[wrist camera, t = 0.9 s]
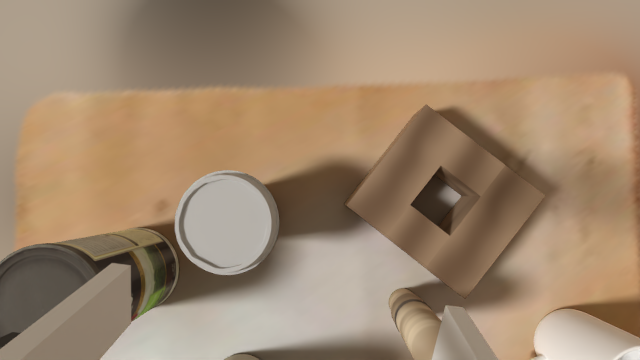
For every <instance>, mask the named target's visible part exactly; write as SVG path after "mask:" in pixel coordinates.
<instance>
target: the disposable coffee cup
mask: <svg viewBox="0 0 640 360" xmlns="http://www.w3.org/2000/svg"><path fill="white" fill-rule="evenodd" d="M278 231H279V213H278V208H277V205H276V203H275V200H274V198H273V196H272V195H271V193H270V192H269V190H268V189H267V188H266V187H265V186H264V185H263V184H262V183H261V182H260V181H259V180H257V179H256V178H254V177H252V176H250V175H248V174H245V173H242V172H239V171H231V170H225V171H217V172H213V173H210V174H208V175H205V176H203V177H202V178H200V179H199V180H197V181H196V182H194V183H193V184H192V185H191V186H190V188H189V189H188V190H187V191H186V192H185V194H184V195H183V197H182V199H181V200H180V202H179V206H178V208H177V212H176V215H175V233H176V238H177V242H178V244H179V246H180V248H181V250H182V251H183V252H184V254H185V255H186V256H187V257H188V258H189V260H190V261H191V262H193V263H194V264H196V265H197V266H199V267H200V268H202V269H204V270H206V271H208V272H211V273H214V274H219V275H234V274H239V273H242V272H246V271H248V270H250V269H252V268H254V267H256V266H257V265H258V264H259V263H260V262H262V261H263V260H264V259H265V258H266V257H267V255H268V254H269V253H270V251H271V250H272V248H273V246H274V244H275V242H276V239H277V236H278Z"/></svg>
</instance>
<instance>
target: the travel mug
mask: <svg viewBox="0 0 640 360" xmlns="http://www.w3.org/2000/svg"><path fill="white" fill-rule="evenodd" d="M224 360H260V359H258V358H256V357H254V356H251V355H247V354H237V355H233V356H230V357H228V358H226V359H224Z"/></svg>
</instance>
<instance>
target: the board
mask: <svg viewBox="0 0 640 360" xmlns="http://www.w3.org/2000/svg"><path fill="white" fill-rule="evenodd" d="M433 175H435V176H437V177H438V178H439V179H441V180H442V181H443V182H445V183H446V184H447V185H448V186H450V187H451V188H452V189H454V190H455V191H456V192H457V193H459V194H460V195H461V198H460V199H459V200H458V201H457V203H456V204H455V205H454V207H453V208H452V209H451V210H450V212H449V213H448V214H447V216H446V217H445V218H444V219H443V221H442V222H441V223H440V225H439V226H437V225H435V224H434V223H433V222H432V221H430V220H429V219H428V218H426V217H425V216H424V215H423V214H421V213H420V212H419V211H417V210H416V209H415V208H414V207H412V206H411V205H410V204H411V203H412V202H413V200H414V199H415V198H416V197H417V195H418V194H419V193H420V191H421V190H422V189H423V188H424V186H425V185H426V184H427V183H428V181H429V180H430V179H431V177H432V176H433ZM544 197H545V195H544V194H542V193H541V192H540V191H539V190H537V189H536V188H535V187H533V186H532V185H531V184H529V183H528V182H527V181H525V180H524V179H523V178H522V177H520V176H519V175H518V174H516V173H515V172H514V171H512V170H511V169H510V168H509V167H507V166H506V165H505V164H503V163H502V162H501V161H499V160H498V159H497V158H495V157H494V156H493V155H492V154H490V153H489V152H488V151H486V150H485V149H484V148H482V147H481V146H480V145H479V144H477V143H476V142H475V141H473V140H472V139H471V138H469V137H468V136H467V135H466V134H464V133H463V132H462V131H460V130H459V129H458V128H456V127H455V126H454V125H452V124H451V123H450V122H449V121H447V120H446V119H445V118H443V117H442V116H441V115H439V114H438V113H437V112H436V111H434V110H433V109H432V108H430V107H429V106H428V105H425V106H424V107H423V108H422V109H420V110H419V111H418V112H417V113H416V114H415V115H414V116H413V117H412V118H411V120H410V121H409V122H408V123H407V125H406V126H405V127H404V128H403V130H402V131H401V132H400V133H399V135H398V136H397V137H396V139H395V140H394V141H393V142H392V144H391V145H390V146H389V147H388V149H387V150H386V151H385V153H384V154H383V155H382V156H381V158H380V159H379V160H378V161H377V163H376V164H375V165H374V167H373V168H372V169H371V170H370V172H369V173H368V174H367V175H366V177H365V178H364V179H363V180H362V182H361V183H360V184H359V186H358V187H357V188H356V189H355V191H354V192H353V193H352V194H351V196H350V197H349V198H348V200H347V201H346V202H345V203H344V204H345V205H346V206H347V207H349V208H350V209H351V210H353V211H354V212H355V213H356V214H358V215H359V216H360V217H361V218H363V219H364V220H365V221H366V222H368V223H369V224H370V225H372V226H373V227H374V228H375V229H377V230H378V231H379V232H380V233H382V234H383V235H384V236H385V237H387V238H388V239H389V240H391V241H392V242H393V243H394V244H396V245H397V246H398V247H399V248H401V249H402V250H403V251H404V252H406V253H407V254H408V255H410V256H411V257H412V258H413V259H415V260H416V261H417V262H418V263H420V264H421V265H422V266H423V267H425V268H426V269H427V270H429V271H430V272H431V273H432V274H434V275H435V276H436V277H437V278H439V279H440V280H441V281H442V282H444V283H445V284H446V285H448V286H449V287H450V288H451V289H453V290H454V291H455V292H457V293H458V294H459V295H460V296H462V297H463V298H464V299H466V297H467V296H468V295H469V294H470V292H471V291H472V290H473V288H474V287H475V286H476V285H477V283H478V282H479V281H480V279H481V278H482V277H483V275H484V274H485V273H486V272H487V270H488V269H489V268H490V266H491V265H492V264H493V263H494V261H495V260H496V259H497V257H498V256H499V255H500V254H501V252H502V251H503V250H504V248H505V247H506V246H507V244H508V243H509V242H510V241H511V239H512V238H513V237H514V235H515V234H516V233H517V232H518V230H519V229H520V228H521V226H522V225H523V224H524V223H525V221H526V220H527V219H528V217H529V216H530V215H531V213H532V212H533V211H534V210H535V208H536V207H537V206H538V204H539V203H540V202H541V201H542V199H543V198H544Z"/></svg>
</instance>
